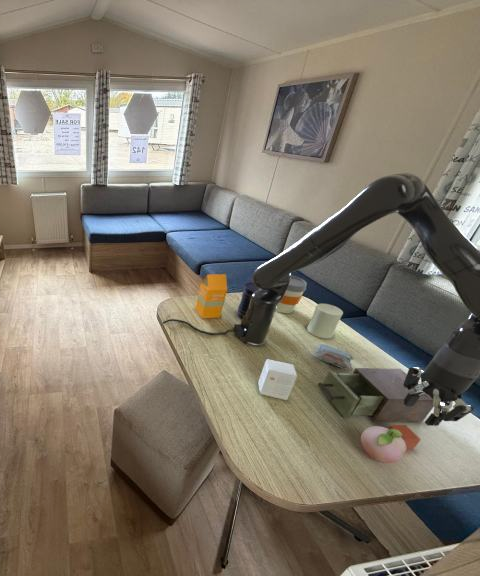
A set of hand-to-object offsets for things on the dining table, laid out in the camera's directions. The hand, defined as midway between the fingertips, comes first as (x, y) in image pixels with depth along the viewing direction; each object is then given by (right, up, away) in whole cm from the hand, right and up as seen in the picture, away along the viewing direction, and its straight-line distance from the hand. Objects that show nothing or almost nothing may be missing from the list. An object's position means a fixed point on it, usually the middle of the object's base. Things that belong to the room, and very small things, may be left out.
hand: (418, 414), depth 80 cm
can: (+12, +14, +52) cm, 55 cm away
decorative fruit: (-10, -12, +2) cm, 16 cm away
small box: (-26, -1, +21) cm, 34 cm away
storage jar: (-15, +20, +61) cm, 66 cm away
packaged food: (+4, +5, +35) cm, 35 cm away
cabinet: (+6, -4, +17) cm, 18 cm away
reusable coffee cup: (+5, +23, +68) cm, 72 cm away
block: (0, -10, +5) cm, 11 cm away
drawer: (-6, -3, +16) cm, 18 cm away
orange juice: (-33, +21, +62) cm, 73 cm away
